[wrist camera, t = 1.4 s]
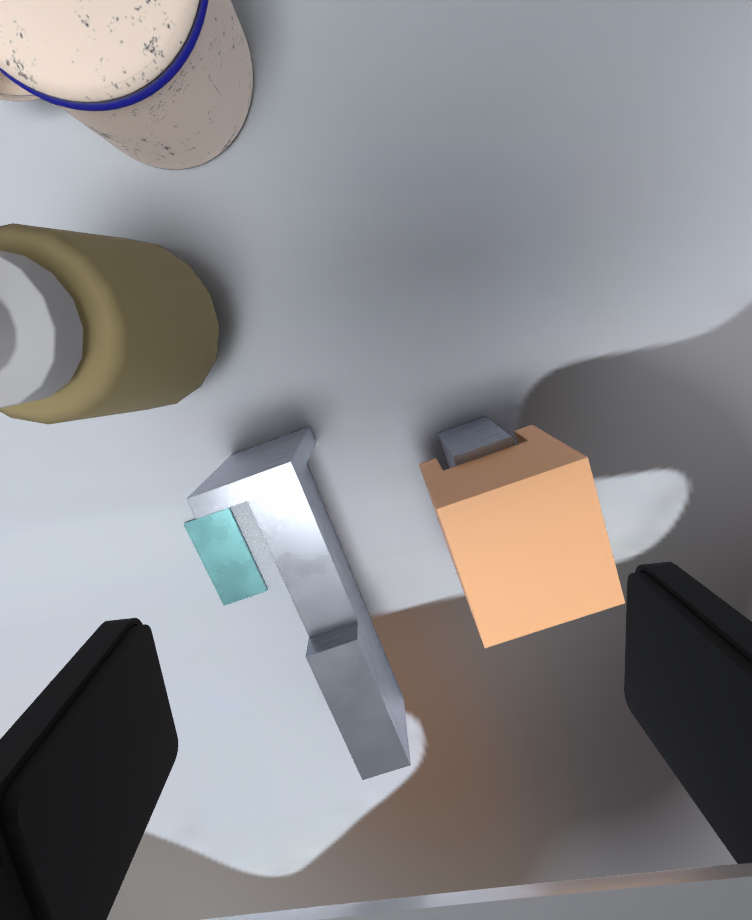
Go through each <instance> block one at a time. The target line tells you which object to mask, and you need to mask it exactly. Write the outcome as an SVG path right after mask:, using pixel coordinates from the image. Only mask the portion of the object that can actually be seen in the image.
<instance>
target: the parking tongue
mask: <svg viewBox="0 0 752 920" xmlns="http://www.w3.org/2000/svg"><path fill="white" fill-rule="evenodd" d="M438 436H439V439H440V442H441V445H442V448H443V451H444V454H445V457H446V460H447V463H448V466H449V468H452V467H455V466H457V465H460V464H463V463H466V462H469V461H472V460H475V459H478V458H480V457H483V456H486V455H489V454H492V453H495V452H498V451H501V450H503V449H506V448H509V447H512V446H515V445H514V441H513V438H512V436H511V435H510V434H508V433H507V432H506V431H504V430H503V429H502V428H500V427H499V426H498V425H496V424H495V423H494V422H493V421H491V420H490V419H489V418H487V417H486V416H485V417H483V418H480V419H477V420H474V421H471V422H468V423H466V424H463V425H460V426H457V427H454V428H451V429H449V430H446V431H443V432H440V433H438Z"/></svg>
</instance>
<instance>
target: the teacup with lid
mask: <svg viewBox="0 0 752 920" xmlns="http://www.w3.org/2000/svg"><path fill="white" fill-rule="evenodd" d="M252 88H253V70H252V61H251V55H250V51H249V47H248V43H247V40H246V37H245V34H244V31H243V29H242V27H241V24H240V22H239V19H238V17H237V14H236V12H235V10H234V7H233V5H232V2H231V0H0V100H6V101H31V100H38V99H43V100H45V101H48V102H50V103H53V104H55V105H58V106H59V107H61V108H62V109H64V110H65V111H66V112H68V113H69V114H71V115H72V116H73V117H75V118H76V119H78V120H79V121H80V122H82V123H83V124H84V125H86V126H87V127H89V128H90V129H91V130H93V131H94V132H96V133H97V134H98V135H100V136H101V137H103V138H104V139H105V140H107V141H108V142H110V143H111V144H112V145H114V146H115V147H117V148H118V149H119V150H121V151H122V152H124V153H125V154H127V155H128V156H130V157H132V158H134V159H135V160H137V161H139V162H142V163H145V164H147V165H150V166H154V167H158V168H163V169H185V168H191V167H195V166H198V165H201V164H203V163H206V162H207V161H209V160H211V159H213V158H214V157H216V156H217V155H219V154H220V153H221V152H222V151H224V150H225V149H226V148H227V147H228V146H229V145H230V144H231V142H232V141H233V140H234V138H235V137H236V136H237V134H238V132H239V131H240V129H241V127H242V125H243V123H244V121H245V119H246V116H247V113H248V110H249V106H250V103H251V97H252Z"/></svg>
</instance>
